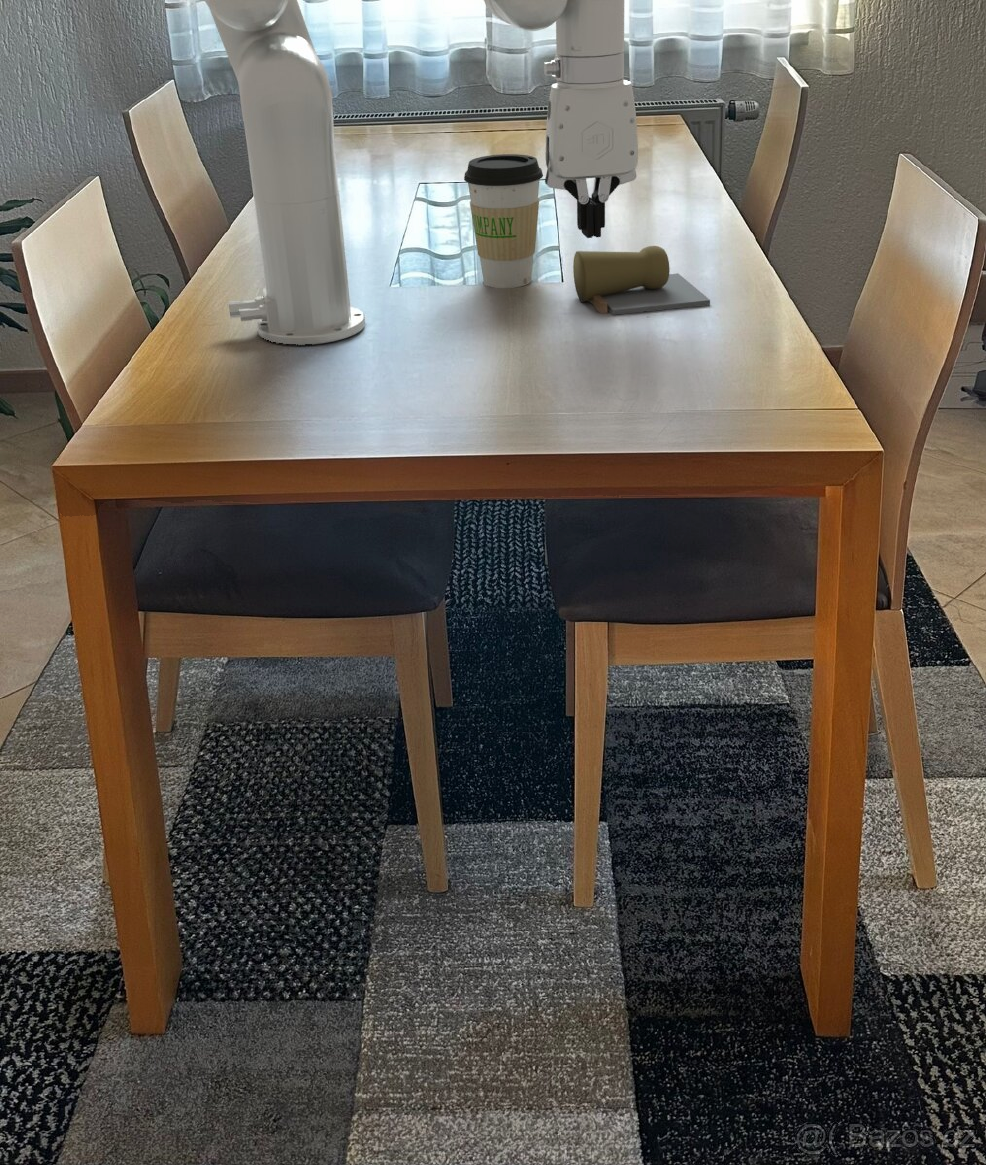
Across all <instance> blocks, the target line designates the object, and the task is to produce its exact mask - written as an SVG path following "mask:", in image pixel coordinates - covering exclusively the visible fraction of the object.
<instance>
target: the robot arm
mask: <svg viewBox="0 0 986 1165" xmlns="http://www.w3.org/2000/svg"><path fill="white" fill-rule="evenodd" d="M204 2H205V4H206V5H207V7H208V9H209V11H210V14H211V16H212V19H213V21H214V25H215V26H216V29H217V31H218V32H217V33H218V34H219V37H220V40H221V42H222V44H223V47H224V49H225V52H226V54H227V55H226V56H227V57H228V60H229V63H230V65H231V67H232V70H233V72H234V73H233V74H234V75H235V77H236V81H237V83H238V90H239V99H240V107H241V115H242V121H243V127H244V134H245V140H246V147H247V149H246V150H247V156H248V164H249V172H250V179H251V187H252V188H251V189H252V194H253V196H252V197H253V201H254V206H255V209H254V210H255V214H256V223H257V229H258V230H257V231H258V239H259V247H260V253H261V260H262V261H261V262H262V268H263V276H264V284H265V285H264V286H265V288H262V290H263V295H258V296H255V299H251V300H245V301H244V300H232V301H228V302H227V304H228V309H229V310H228V311H229V317H230V319H236V318H240V321H241V322H247V321H253V320H259V321H258V322H257V325H256V326H257V332H258V335H259V336H260V337H261V338H262V339H263V338H264V339H263V340H265V339H266V340H265V341H267V340H269V341H268V342H270V341H271V342H270V343H273V342H276V343H275V344H279V343H283V344H282V345H286V344H296V345H295V346H306V345H305V344H312V345H321V344H327V343H332V342H338V341H341V340H343V339H347V338H350V337H352V336H354V335H356V334H358V333H359V332H361V331H362V330H363V329H364V328H365V326H366V316H365V313H364V312H363V311H361V310H360V309H358V308H356V307H353V306H351V298H350V287H349V280H348V269H347V267H348V266H347V258H346V257H347V256H346V246H345V239H344V236H345V235H344V227H343V218H342V215H343V214H342V209H341V208H342V207H341V206H342V205H341V197H340V196H341V195H340V190H339V180H338V179H339V178H338V169H337V156H336V144H335V142H336V141H335V131H334V130H335V128H334V107H333V106H334V105H333V95H332V90H331V85H330V84H331V83H330V80H329V76H328V73H327V71H326V69H325V67H324V64H323V62H322V60H320V58H319V57H318V55H317V52H316V50H315V48H314V47H315V46H314V44H313V41H312V39H311V35H310V33H309V29H308V26H307V24H306V21H305V19H304V16H303V12H302V10H301V8H300V3H299V2H298V0H204ZM483 2H484V4H485V6H486V7H487V9H488V10H489V11H490V13H491V14H492V15H493V16H494V17H496V18H497V19H499V20H500V21H502V22H504V23H507V24H509V25H511V26H513V27H515V28H517V29H519V30H523V31H526V32H536V31H541V30H545V29H547V28H549V27H550V26H552V25H553V24H555V45H556V46H555V47H556V50H555V51H556V54H554V58H553V60H551V61H549V62H548V61H547V62H544V64H543V71H544V72H543V73H544V75H545V76H550V77H554V79H555V80H556V83H553V84H552V85H551V88H550V93H549V97H548V106H547V115H546V117H547V118H546V127H545V129H546V130H545V166H546V168H547V170H546V174H545V179H544V184H545V185H546V186H547V187H549V188H552V189H554V190H555V189H557V190H561V191H562V190H563V191H567V192H568V193H569V194H570V195H571V196H572V197H573V198H574V199H575V200H576V219H577V222H576V225H577V229H578V230H579V231H581V233H582V235H583V236H584V237H585V238H587V239H592V238H594V237H595V238H601V237H602V229H604V228H605V225H606V202H607V201H609V199H610V198H609V197H610V196H611V195H612V194H613V193H614V192H615V190H616V189H617V188H618V187H619V186H620V185H625V184H627V183H630V182H634V181H635V180H636V179H637V171H636V169H637V168H638V164H639V141H638V140H639V139H638V126H637V124H638V123H637V114H636V113H637V112H636V105H635V104H636V103H635V96H634V90H633V84H632V82H631V81H630V80H629V81H628V80H626V79H625V0H483ZM587 179H594V181H593V187H592V189H593V190H592V192H591V193H592V194H591V197H590V194H589V190H588V182H587ZM297 344H298V345H297Z"/></svg>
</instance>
